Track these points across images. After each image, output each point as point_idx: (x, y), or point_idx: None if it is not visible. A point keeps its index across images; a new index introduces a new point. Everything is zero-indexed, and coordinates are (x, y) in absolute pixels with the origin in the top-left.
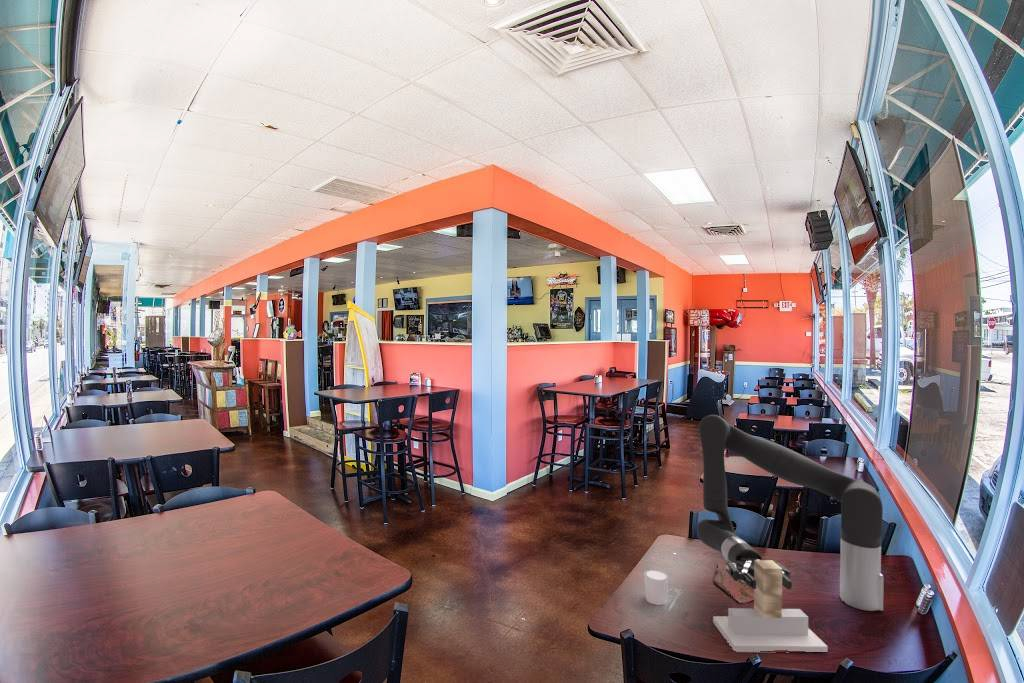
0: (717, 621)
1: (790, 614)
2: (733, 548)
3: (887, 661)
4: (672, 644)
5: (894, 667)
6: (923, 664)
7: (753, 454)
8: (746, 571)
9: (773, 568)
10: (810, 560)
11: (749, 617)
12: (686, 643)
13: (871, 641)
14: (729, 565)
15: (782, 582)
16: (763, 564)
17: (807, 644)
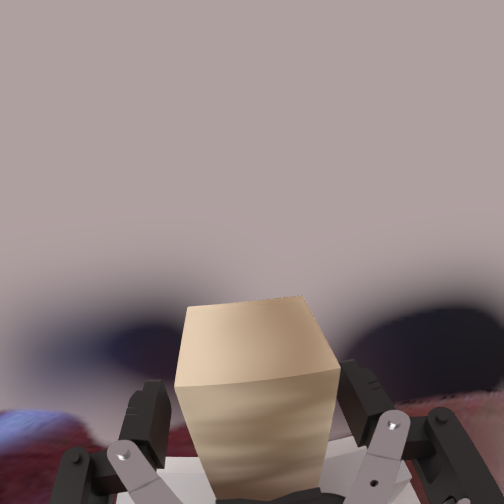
0: None
1: (176, 485)
2: None
3: (42, 427)
4: (494, 408)
5: (48, 415)
6: (3, 411)
7: None
8: (381, 429)
9: (241, 303)
10: None
11: (343, 455)
12: (474, 423)
13: (9, 471)
14: (484, 466)
15: (163, 440)
16: (287, 327)
17: (176, 462)
